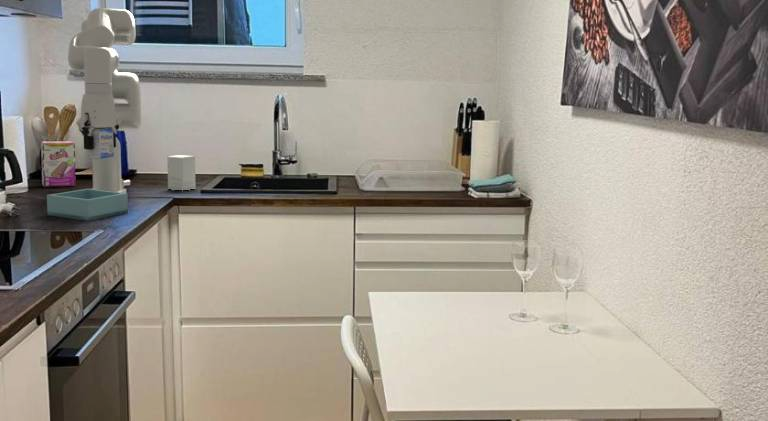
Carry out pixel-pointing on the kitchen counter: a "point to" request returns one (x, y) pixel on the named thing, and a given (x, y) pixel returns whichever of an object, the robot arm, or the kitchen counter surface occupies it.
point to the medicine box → (102, 144)
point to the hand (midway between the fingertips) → (100, 148)
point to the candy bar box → (58, 163)
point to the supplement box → (181, 172)
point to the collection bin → (87, 204)
